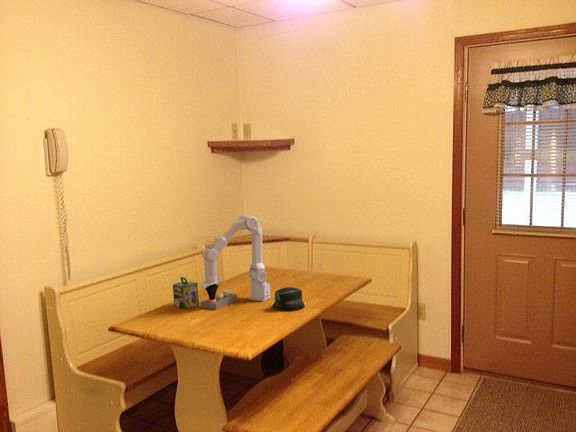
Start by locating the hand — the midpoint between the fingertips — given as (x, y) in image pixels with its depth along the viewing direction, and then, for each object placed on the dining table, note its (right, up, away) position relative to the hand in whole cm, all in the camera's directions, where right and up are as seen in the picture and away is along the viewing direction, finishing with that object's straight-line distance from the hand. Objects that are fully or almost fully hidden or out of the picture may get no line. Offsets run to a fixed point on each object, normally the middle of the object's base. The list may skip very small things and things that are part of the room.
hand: (212, 299), depth 266 cm
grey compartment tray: (+3, -3, +6) cm, 7 cm away
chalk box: (-13, -4, +3) cm, 14 cm away
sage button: (+6, 0, +11) cm, 12 cm away
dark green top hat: (+38, -4, -1) cm, 38 cm away
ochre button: (+3, -1, +5) cm, 6 cm away
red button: (0, -3, 0) cm, 3 cm away
